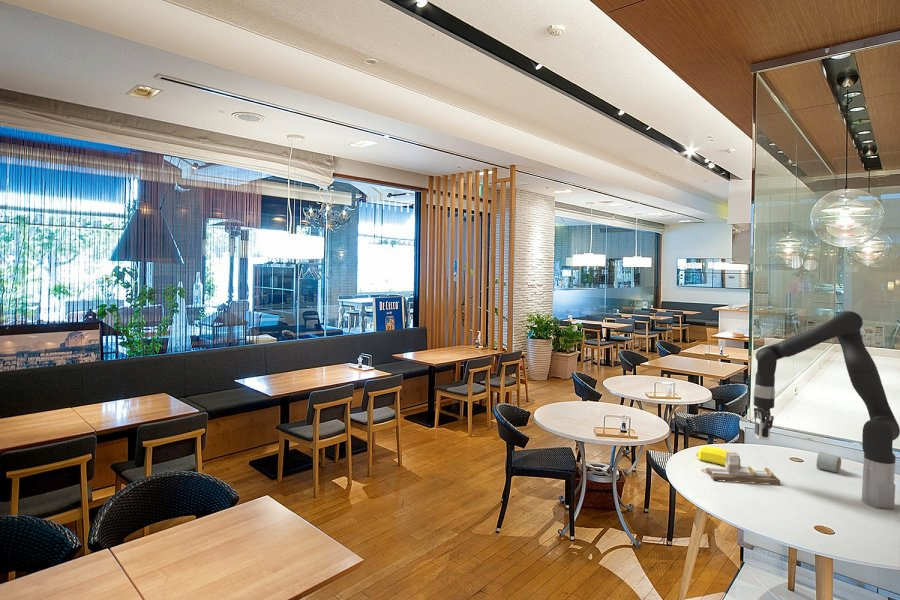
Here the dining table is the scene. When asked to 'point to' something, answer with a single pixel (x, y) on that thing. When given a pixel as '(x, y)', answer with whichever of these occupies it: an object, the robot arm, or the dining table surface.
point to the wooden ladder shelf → (741, 472)
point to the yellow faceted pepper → (712, 455)
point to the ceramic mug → (828, 462)
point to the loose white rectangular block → (760, 430)
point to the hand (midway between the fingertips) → (762, 435)
